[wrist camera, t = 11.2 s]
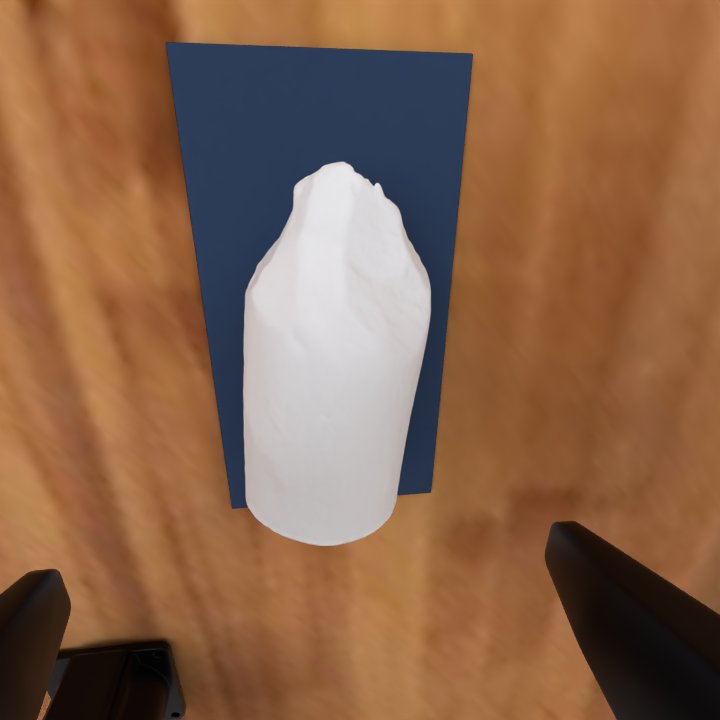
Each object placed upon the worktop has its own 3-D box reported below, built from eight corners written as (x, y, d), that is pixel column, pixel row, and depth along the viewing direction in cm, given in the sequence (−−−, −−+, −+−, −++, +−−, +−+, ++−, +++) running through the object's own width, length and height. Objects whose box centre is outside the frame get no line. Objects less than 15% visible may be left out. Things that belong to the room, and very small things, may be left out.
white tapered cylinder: (426, 170, 16) (487, 178, 11) (384, 452, 21) (413, 550, 16) (251, 150, 15) (227, 149, 10) (250, 451, 20) (234, 555, 15)
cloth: (429, 488, 22) (431, 492, 22) (232, 504, 21) (231, 509, 21) (469, 55, 15) (473, 53, 14) (167, 44, 14) (165, 41, 13)
